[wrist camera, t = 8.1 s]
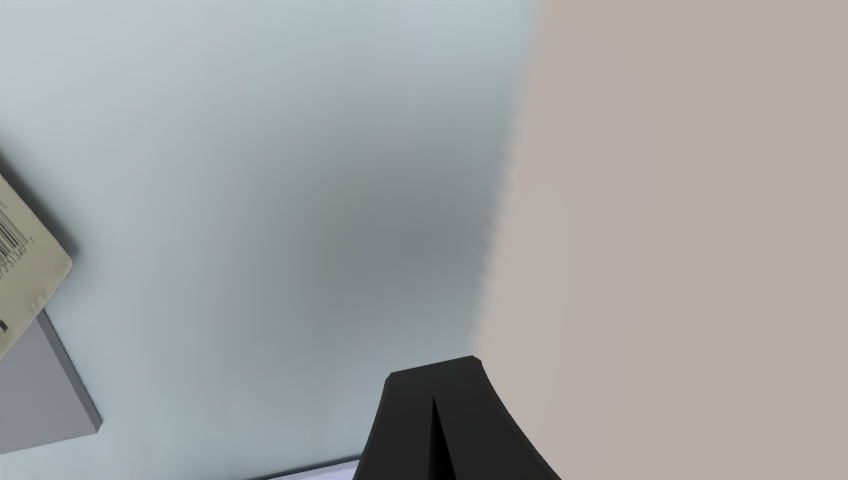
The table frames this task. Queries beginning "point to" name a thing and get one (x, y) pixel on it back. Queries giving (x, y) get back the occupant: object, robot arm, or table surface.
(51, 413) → the mat
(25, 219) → the box
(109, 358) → the table surface
